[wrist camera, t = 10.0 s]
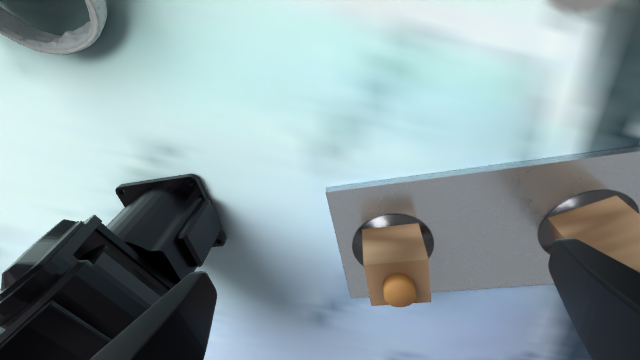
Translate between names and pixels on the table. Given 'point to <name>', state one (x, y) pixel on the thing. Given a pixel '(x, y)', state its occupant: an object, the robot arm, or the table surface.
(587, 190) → the plate
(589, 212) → the point post
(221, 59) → the table surface
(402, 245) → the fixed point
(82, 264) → the robot arm
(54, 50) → the ceramic mug
